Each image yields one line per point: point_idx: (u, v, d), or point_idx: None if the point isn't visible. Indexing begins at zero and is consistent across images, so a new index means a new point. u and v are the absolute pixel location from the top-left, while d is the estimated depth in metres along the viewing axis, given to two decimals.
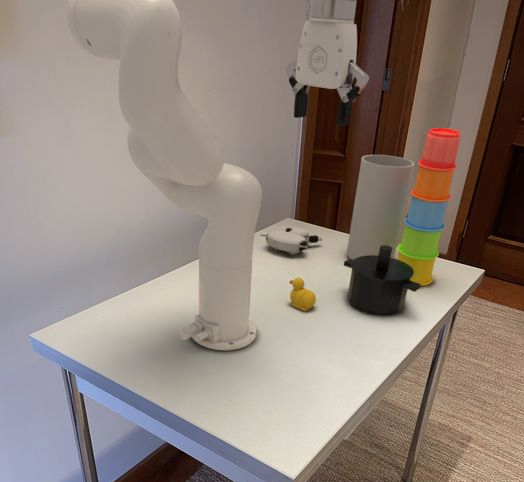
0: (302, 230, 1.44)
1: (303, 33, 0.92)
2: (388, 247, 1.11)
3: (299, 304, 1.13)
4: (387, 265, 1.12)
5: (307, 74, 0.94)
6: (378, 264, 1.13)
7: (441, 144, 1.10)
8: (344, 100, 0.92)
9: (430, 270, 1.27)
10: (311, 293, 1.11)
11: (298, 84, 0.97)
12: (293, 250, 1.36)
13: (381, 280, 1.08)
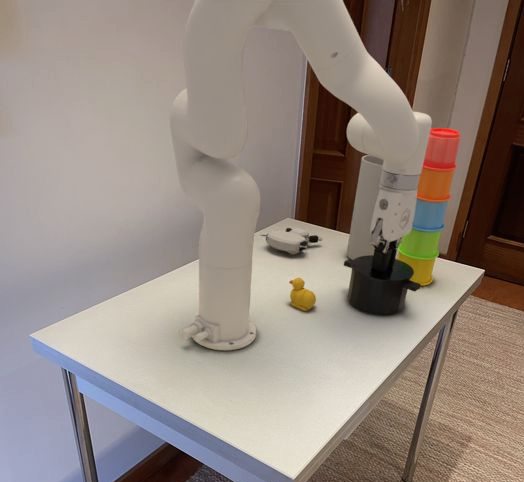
0: (302, 230, 1.44)
1: (397, 203, 1.02)
2: None
3: (299, 304, 1.13)
4: (387, 265, 1.12)
5: (397, 232, 1.06)
6: None
7: (441, 144, 1.10)
8: (396, 247, 1.12)
9: (430, 270, 1.27)
10: (311, 293, 1.11)
11: (388, 245, 1.09)
12: (293, 250, 1.36)
13: (381, 280, 1.08)
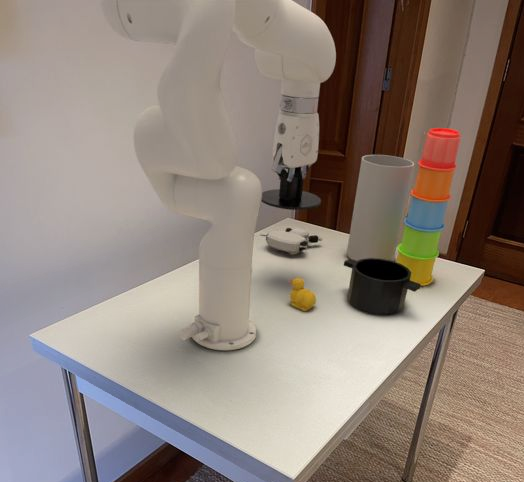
0: (302, 230, 1.44)
1: (294, 127, 1.03)
2: (294, 176, 1.13)
3: (299, 304, 1.13)
4: (294, 195, 1.14)
5: (298, 159, 1.07)
6: None
7: (441, 144, 1.10)
8: (303, 177, 1.13)
9: (430, 270, 1.27)
10: (311, 293, 1.11)
11: (292, 173, 1.10)
12: (293, 250, 1.36)
13: (284, 207, 1.09)
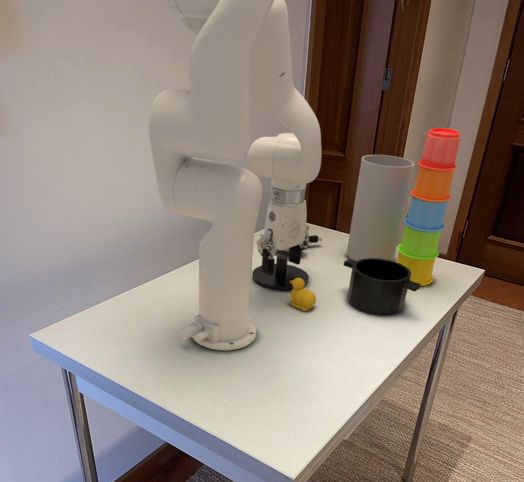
0: None
1: (283, 216, 1.13)
2: (284, 257, 1.23)
3: (299, 304, 1.13)
4: (284, 273, 1.24)
5: (288, 242, 1.17)
6: (276, 272, 1.24)
7: (441, 144, 1.10)
8: (301, 246, 1.24)
9: (430, 270, 1.27)
10: (311, 293, 1.11)
11: (273, 251, 1.17)
12: None
13: (275, 287, 1.20)
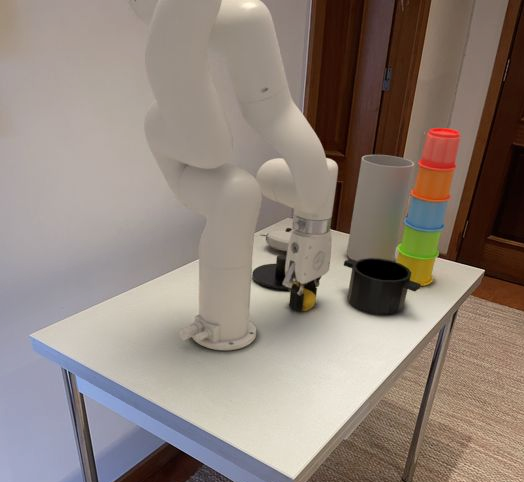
0: None
1: (307, 247, 1.02)
2: (284, 257, 1.23)
3: None
4: (284, 273, 1.24)
5: (311, 274, 1.07)
6: (276, 272, 1.24)
7: (441, 144, 1.10)
8: (316, 285, 1.13)
9: (430, 270, 1.27)
10: (311, 293, 1.11)
11: (303, 286, 1.09)
12: None
13: (275, 287, 1.20)
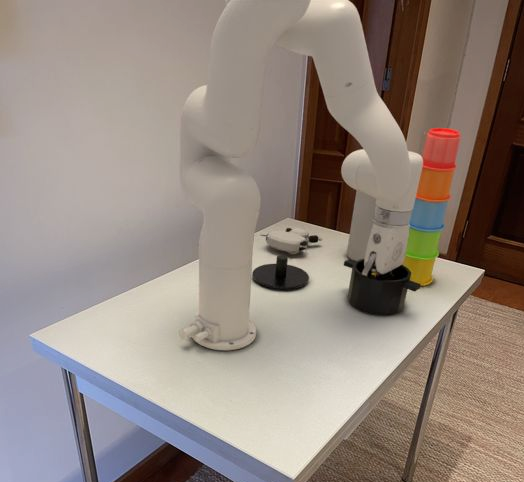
0: (302, 230, 1.44)
1: (390, 238, 1.06)
2: (284, 257, 1.23)
3: None
4: (284, 273, 1.24)
5: (390, 265, 1.10)
6: (276, 272, 1.24)
7: (441, 144, 1.10)
8: (392, 275, 1.17)
9: (430, 270, 1.27)
10: None
11: (379, 277, 1.12)
12: (293, 250, 1.36)
13: (275, 287, 1.20)
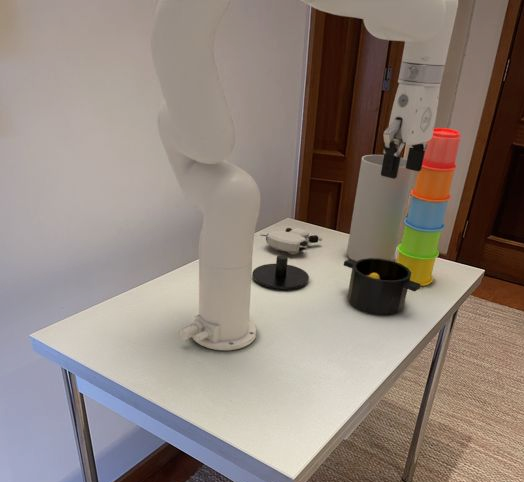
0: (302, 230, 1.44)
1: (418, 98, 0.92)
2: (284, 257, 1.23)
3: None
4: (284, 273, 1.24)
5: (418, 135, 0.96)
6: (276, 272, 1.24)
7: (441, 144, 1.10)
8: (424, 148, 1.04)
9: (430, 270, 1.27)
10: None
11: (400, 147, 0.96)
12: (293, 250, 1.36)
13: (275, 287, 1.20)
